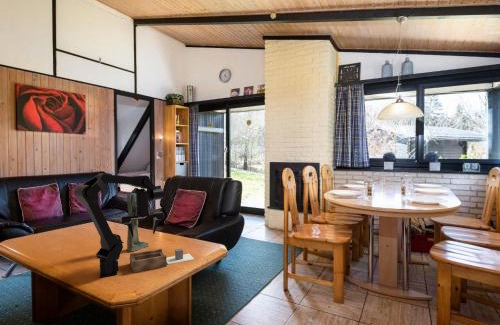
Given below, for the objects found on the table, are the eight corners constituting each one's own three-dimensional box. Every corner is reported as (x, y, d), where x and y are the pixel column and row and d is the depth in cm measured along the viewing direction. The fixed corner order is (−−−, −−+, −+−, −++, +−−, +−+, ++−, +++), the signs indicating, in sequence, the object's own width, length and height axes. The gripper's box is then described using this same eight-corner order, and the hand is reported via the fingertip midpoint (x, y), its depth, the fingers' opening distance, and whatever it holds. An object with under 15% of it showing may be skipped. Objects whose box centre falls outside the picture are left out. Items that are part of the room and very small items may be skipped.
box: (132, 272, 120) (132, 262, 120) (130, 263, 131) (129, 253, 131) (166, 266, 127) (166, 256, 126) (161, 257, 137) (161, 248, 137)
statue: (149, 246, 156) (147, 191, 155) (131, 252, 146) (130, 193, 146) (140, 244, 159) (139, 190, 158) (123, 250, 150) (121, 193, 149)
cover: (168, 265, 129) (167, 254, 128) (164, 259, 136) (164, 249, 136) (194, 260, 134) (193, 250, 134) (189, 255, 142) (189, 245, 142)
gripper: (160, 198, 144) (160, 229, 145) (119, 201, 136) (120, 234, 136) (164, 201, 135) (165, 234, 135) (120, 204, 126) (121, 240, 126)
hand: (143, 235), depth 133 cm, fingers open, 9 cm apart
